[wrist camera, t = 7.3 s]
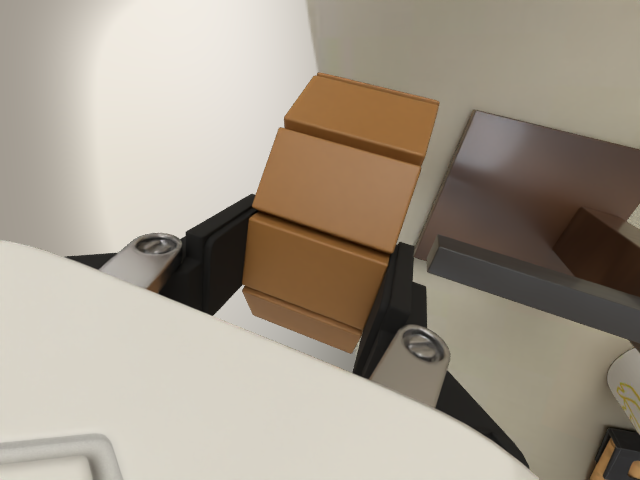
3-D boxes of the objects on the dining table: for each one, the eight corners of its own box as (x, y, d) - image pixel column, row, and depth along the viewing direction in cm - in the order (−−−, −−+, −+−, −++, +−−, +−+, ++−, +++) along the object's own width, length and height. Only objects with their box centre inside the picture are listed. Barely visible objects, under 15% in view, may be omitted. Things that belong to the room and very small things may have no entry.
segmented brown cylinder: (353, 79, 18) (264, 60, 8) (433, 99, 18) (450, 105, 7) (314, 248, 24) (232, 365, 14) (373, 268, 23) (333, 409, 13)
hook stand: (458, 105, 22) (498, 116, 11) (661, 154, 20) (979, 233, 9) (402, 247, 28) (389, 352, 16) (555, 297, 25) (661, 457, 14)
